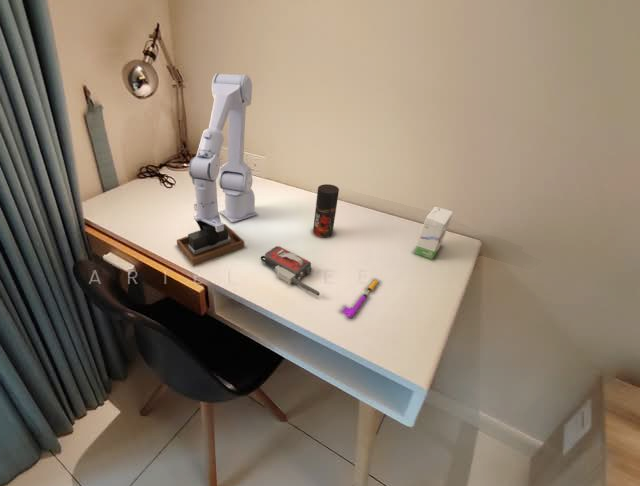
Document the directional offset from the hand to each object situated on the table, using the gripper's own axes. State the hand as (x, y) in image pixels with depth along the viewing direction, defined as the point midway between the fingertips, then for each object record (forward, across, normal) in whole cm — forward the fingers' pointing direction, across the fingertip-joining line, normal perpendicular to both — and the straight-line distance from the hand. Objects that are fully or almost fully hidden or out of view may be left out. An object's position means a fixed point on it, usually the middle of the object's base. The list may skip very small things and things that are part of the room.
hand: (210, 240), depth 103 cm
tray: (+2, 0, 0) cm, 2 cm away
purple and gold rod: (+3, +38, +21) cm, 44 cm away
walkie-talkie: (+2, +23, +13) cm, 27 cm away
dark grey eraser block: (+1, 0, 0) cm, 1 cm away
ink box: (+2, +35, +52) cm, 63 cm away
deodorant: (+2, +12, +33) cm, 35 cm away
